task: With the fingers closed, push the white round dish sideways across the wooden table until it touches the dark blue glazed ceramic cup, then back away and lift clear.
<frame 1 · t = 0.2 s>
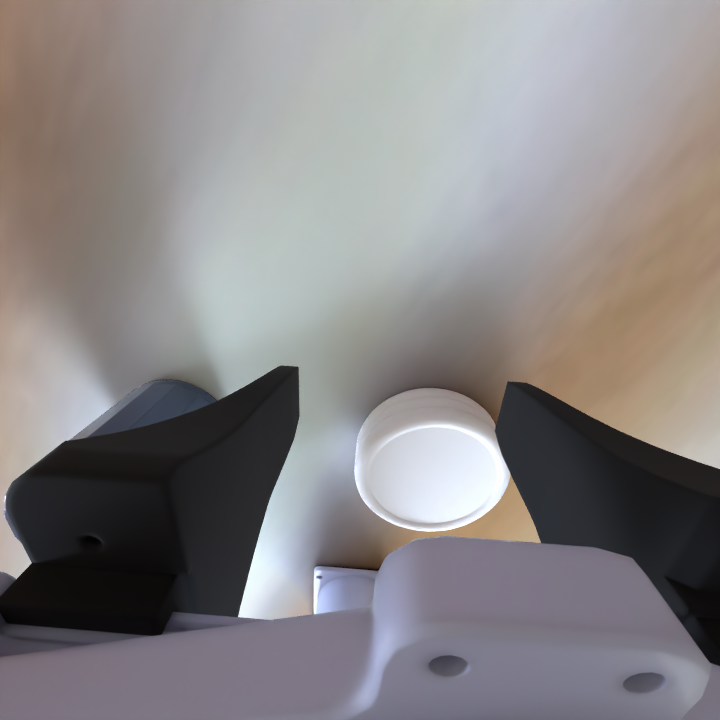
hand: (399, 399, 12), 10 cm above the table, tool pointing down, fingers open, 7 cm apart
white round dish: (425, 443, 25), on the table
cup: (180, 426, 25), on the table
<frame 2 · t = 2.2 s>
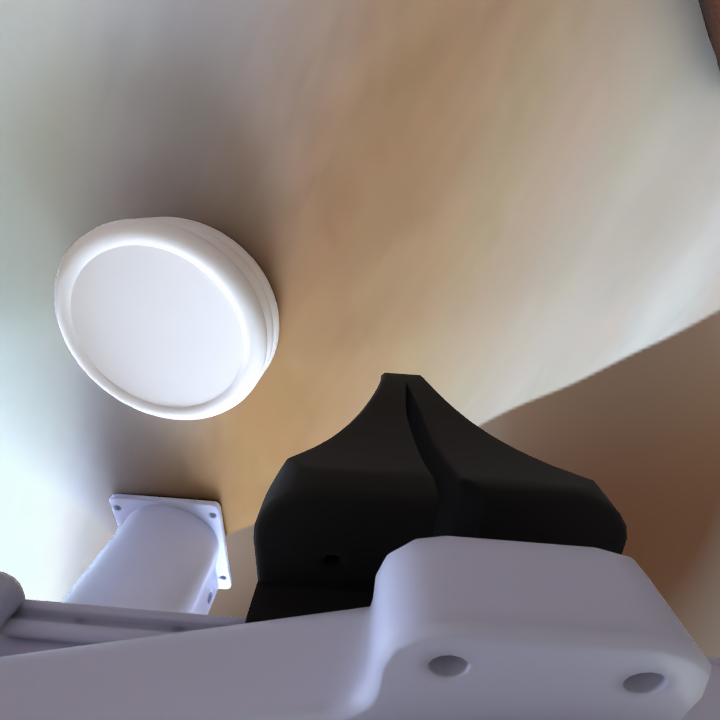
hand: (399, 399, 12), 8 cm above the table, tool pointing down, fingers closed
white round dish: (195, 312, 19), on the table
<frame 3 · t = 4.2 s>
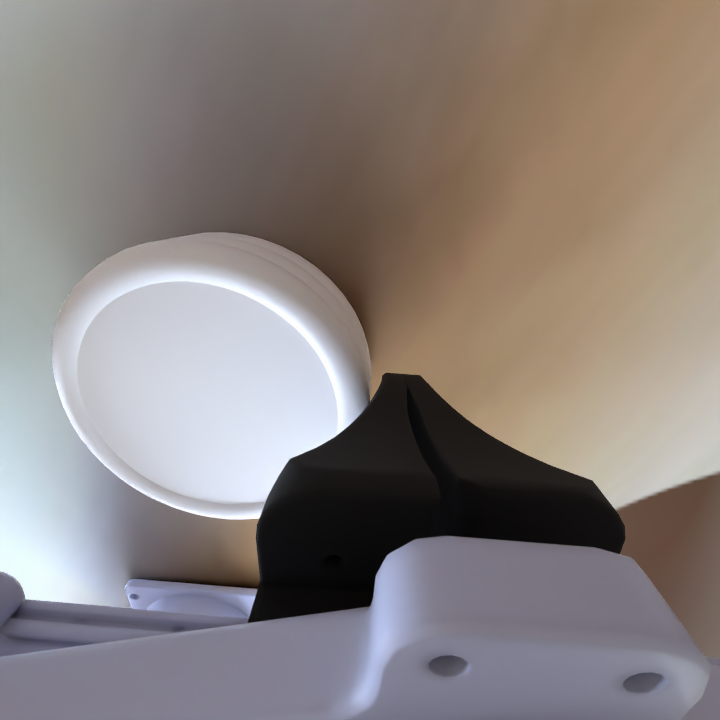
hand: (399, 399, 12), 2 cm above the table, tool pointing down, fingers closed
white round dish: (248, 361, 14), on the table, touching gripper
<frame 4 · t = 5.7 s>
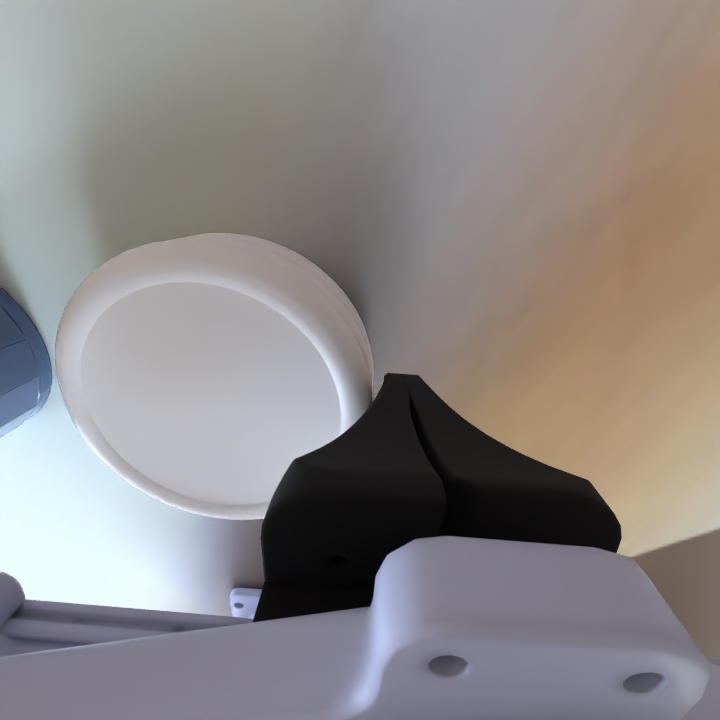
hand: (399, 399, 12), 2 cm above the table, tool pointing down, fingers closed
white round dish: (250, 362, 14), on the table, touching gripper
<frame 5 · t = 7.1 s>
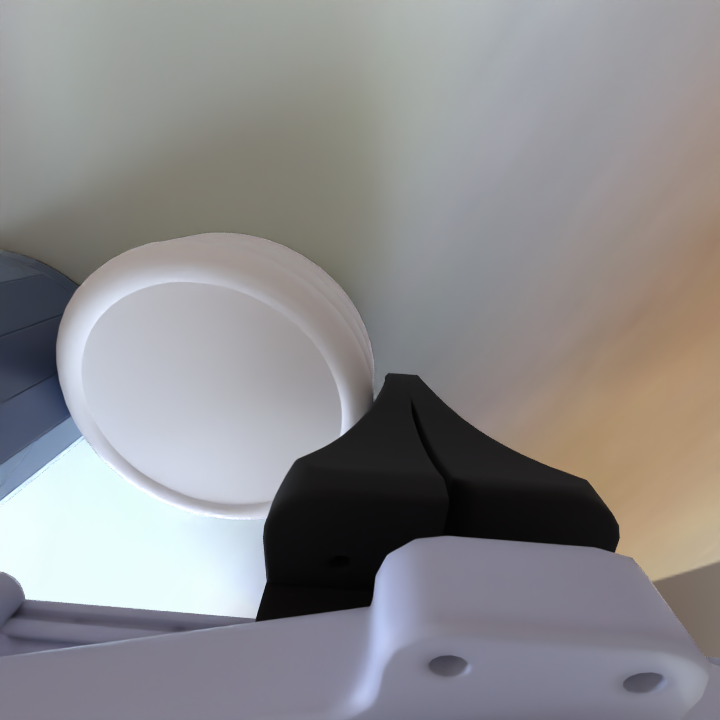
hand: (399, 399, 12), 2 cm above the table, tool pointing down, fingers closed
white round dish: (251, 362, 14), on the table, touching cup, gripper
cup: (31, 349, 14), on the table, touching white round dish
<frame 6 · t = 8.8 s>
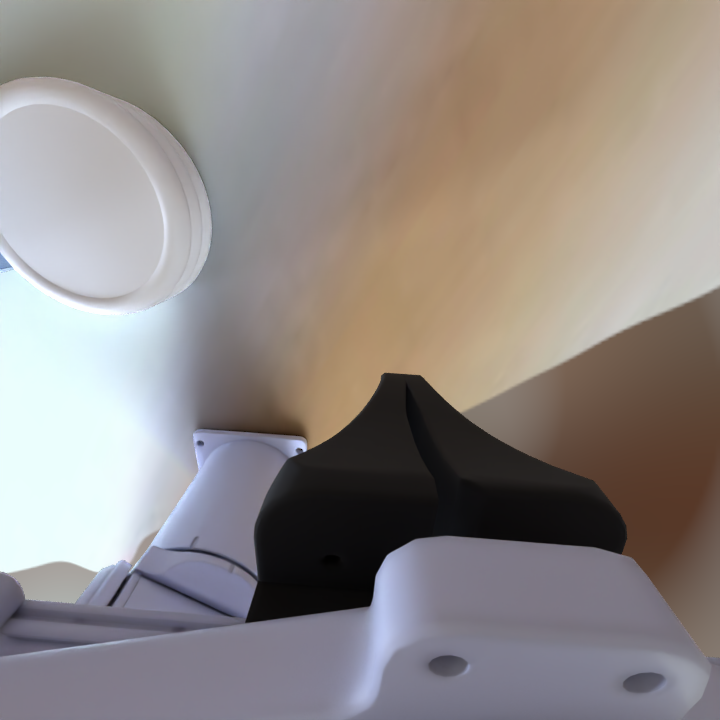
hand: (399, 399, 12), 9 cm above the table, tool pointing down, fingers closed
white round dish: (126, 209, 19), on the table, touching cup
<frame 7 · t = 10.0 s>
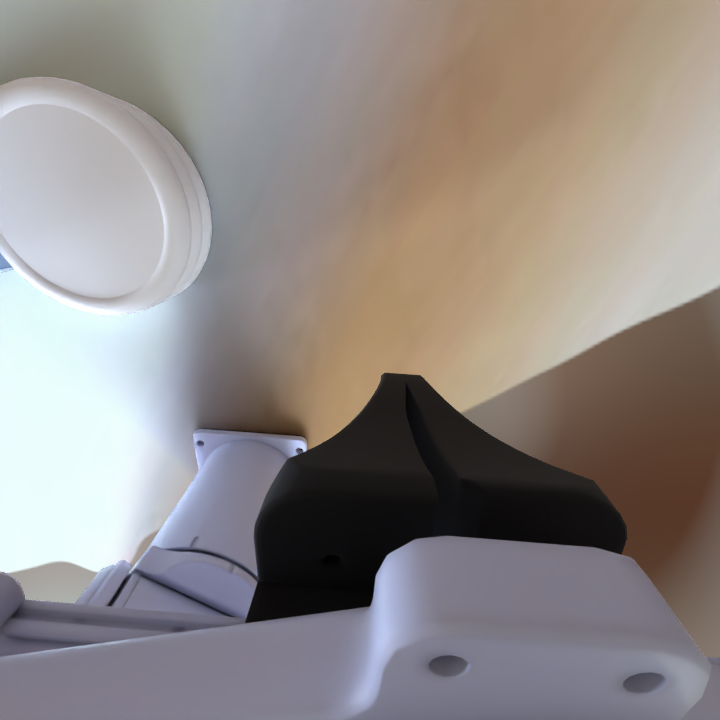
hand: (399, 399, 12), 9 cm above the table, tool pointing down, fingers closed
white round dish: (126, 209, 19), on the table, touching cup
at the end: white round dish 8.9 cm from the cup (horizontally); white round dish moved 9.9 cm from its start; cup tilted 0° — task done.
